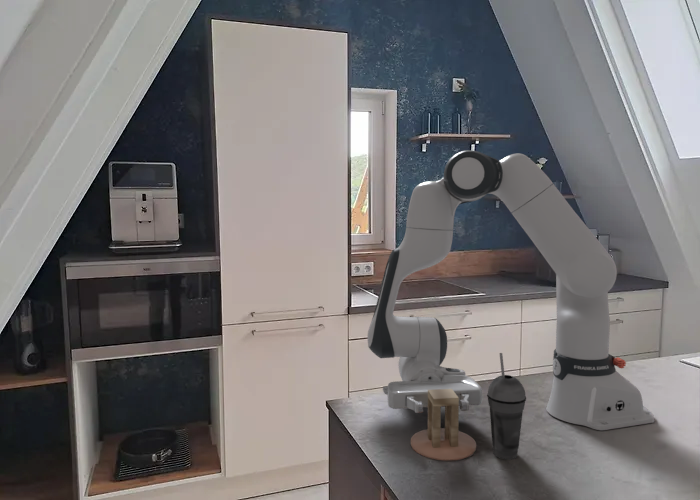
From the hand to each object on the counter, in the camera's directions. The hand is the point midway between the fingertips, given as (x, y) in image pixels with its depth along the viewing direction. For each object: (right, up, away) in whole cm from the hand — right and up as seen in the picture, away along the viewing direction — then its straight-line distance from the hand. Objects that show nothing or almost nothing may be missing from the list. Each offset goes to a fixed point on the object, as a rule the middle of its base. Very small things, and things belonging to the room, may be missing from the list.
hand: (442, 408), depth 110 cm
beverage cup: (+12, -8, -4) cm, 14 cm away
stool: (0, -7, 0) cm, 7 cm away
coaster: (0, -7, 0) cm, 7 cm away
